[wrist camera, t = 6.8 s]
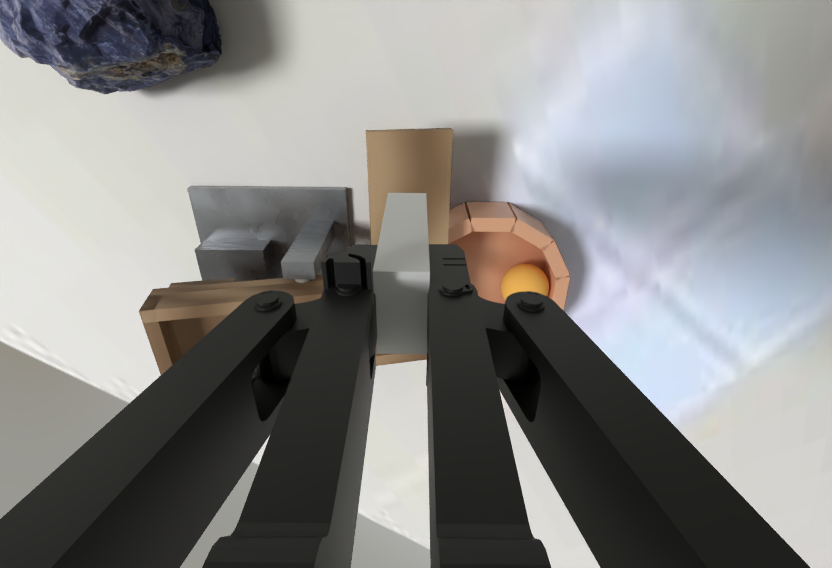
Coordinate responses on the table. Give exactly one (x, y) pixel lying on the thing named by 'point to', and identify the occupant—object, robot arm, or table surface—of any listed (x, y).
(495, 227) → the terracotta bowl
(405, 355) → the lever
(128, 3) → the rock
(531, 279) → the ball
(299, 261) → the pivot base
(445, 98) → the table surface
